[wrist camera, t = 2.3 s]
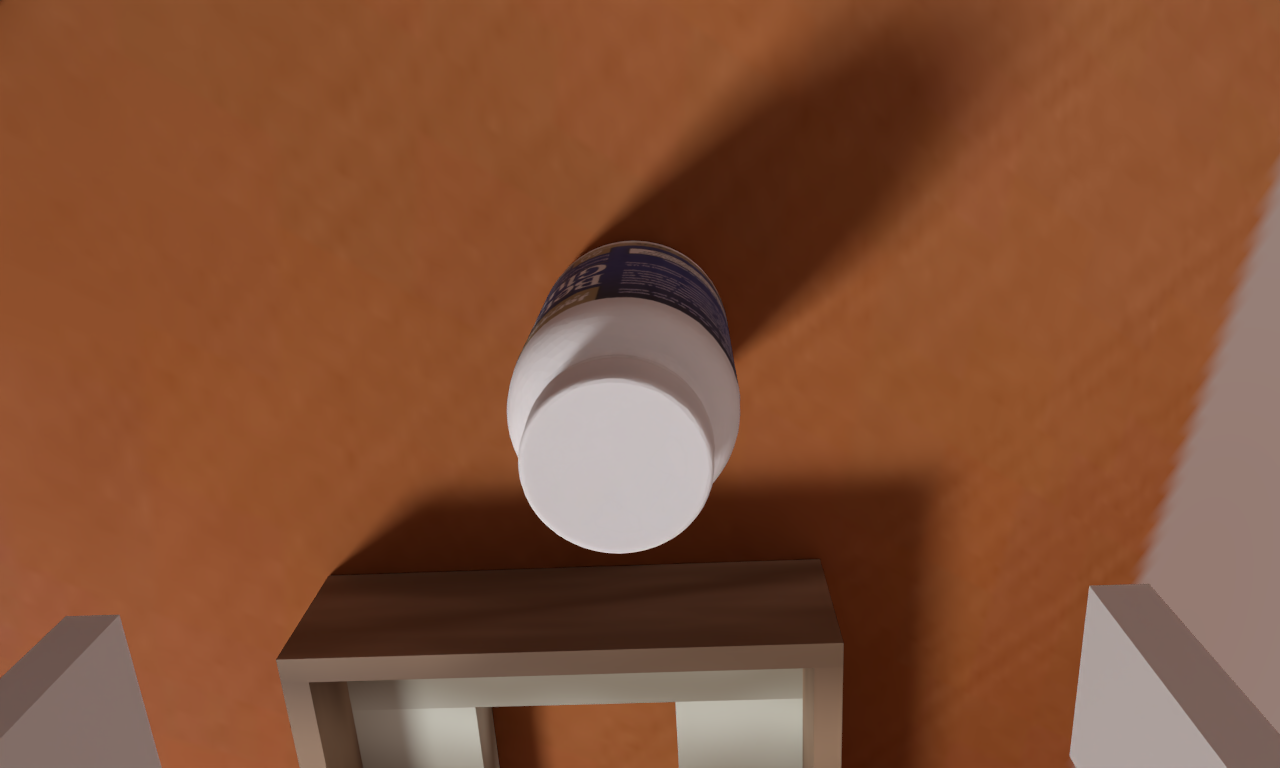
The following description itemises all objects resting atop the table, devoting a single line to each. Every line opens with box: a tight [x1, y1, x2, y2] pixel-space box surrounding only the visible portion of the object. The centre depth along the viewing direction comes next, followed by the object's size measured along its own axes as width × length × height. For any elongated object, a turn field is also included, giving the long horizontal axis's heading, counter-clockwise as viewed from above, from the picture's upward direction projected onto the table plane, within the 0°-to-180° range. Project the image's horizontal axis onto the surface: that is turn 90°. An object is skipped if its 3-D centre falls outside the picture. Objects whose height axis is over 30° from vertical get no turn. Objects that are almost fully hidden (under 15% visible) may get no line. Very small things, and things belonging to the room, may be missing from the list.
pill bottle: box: [507, 241, 740, 554], centre depth 24 cm, size 5×5×10 cm
